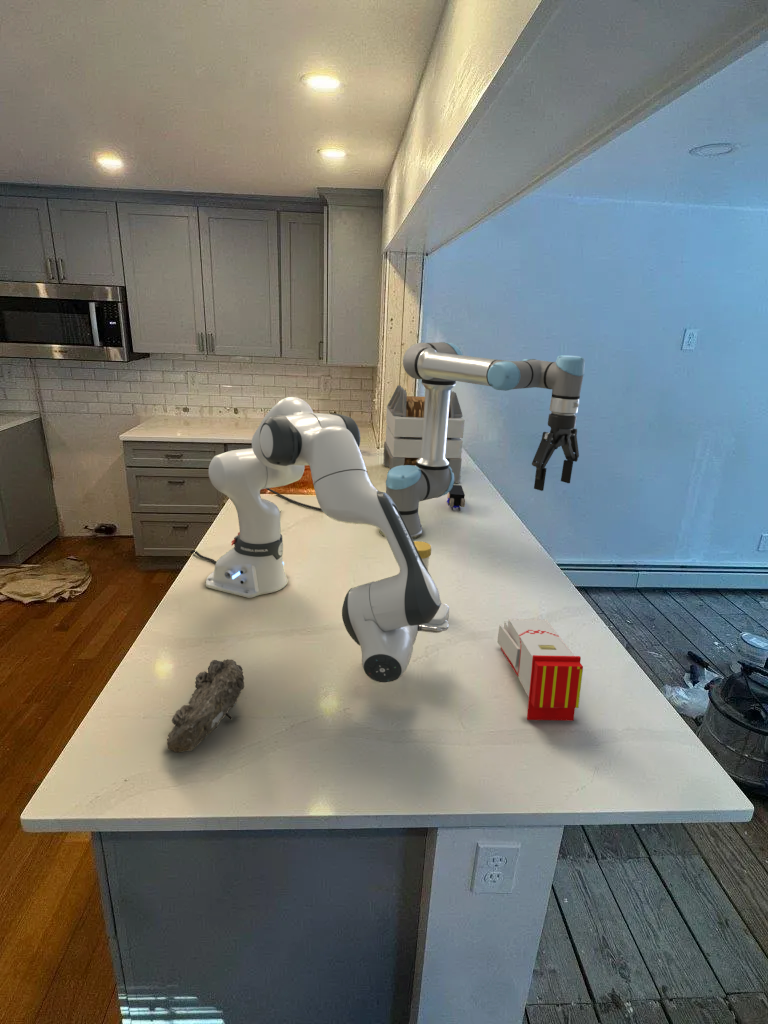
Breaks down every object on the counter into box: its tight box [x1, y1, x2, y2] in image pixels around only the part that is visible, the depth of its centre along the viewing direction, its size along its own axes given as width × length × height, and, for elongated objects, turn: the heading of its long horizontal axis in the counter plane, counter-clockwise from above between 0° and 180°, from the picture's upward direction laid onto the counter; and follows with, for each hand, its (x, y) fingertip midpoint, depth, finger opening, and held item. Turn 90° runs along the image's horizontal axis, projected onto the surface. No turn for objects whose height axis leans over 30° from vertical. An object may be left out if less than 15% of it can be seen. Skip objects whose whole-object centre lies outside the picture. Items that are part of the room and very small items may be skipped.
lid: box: [413, 540, 432, 559], centre depth 148 cm, size 6×6×2 cm
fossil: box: [166, 658, 245, 754], centre depth 106 cm, size 22×10×15 cm
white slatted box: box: [383, 384, 465, 484], centre depth 268 cm, size 34×33×41 cm
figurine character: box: [446, 484, 466, 511], centre depth 229 cm, size 7×8×15 cm
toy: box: [497, 618, 584, 722], centre depth 122 cm, size 12×13×30 cm
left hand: (407, 595), depth 130 cm, fingers open, 8 cm apart
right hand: (552, 485), depth 166 cm, fingers open, 13 cm apart
